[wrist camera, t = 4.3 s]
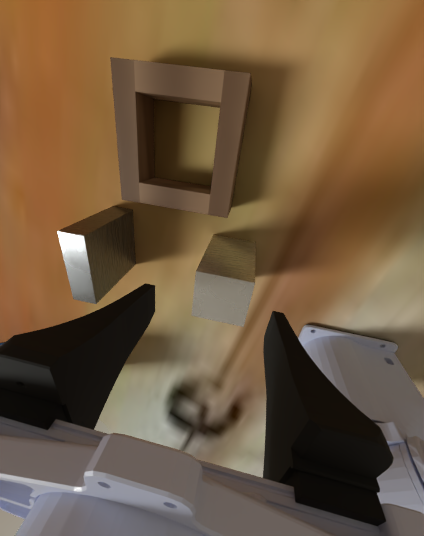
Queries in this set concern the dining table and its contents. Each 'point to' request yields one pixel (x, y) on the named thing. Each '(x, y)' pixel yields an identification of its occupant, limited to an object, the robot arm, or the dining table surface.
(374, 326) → the dining table surface
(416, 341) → the dining table surface
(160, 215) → the dining table surface
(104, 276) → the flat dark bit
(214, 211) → the walnut bore block
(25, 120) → the dining table surface
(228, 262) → the block
